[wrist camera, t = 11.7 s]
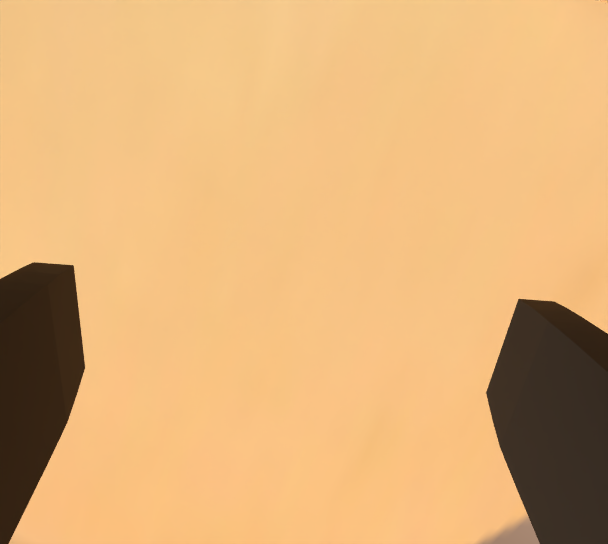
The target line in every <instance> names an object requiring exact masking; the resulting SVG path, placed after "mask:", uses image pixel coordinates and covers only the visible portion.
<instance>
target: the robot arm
mask: <svg viewBox="0 0 608 544" xmlns="http://www.w3.org/2000/svg"><path fill="white" fill-rule="evenodd" d="M84 369H85V363H84V354H83V345H82V336H81V327H80V318H79V309H78V300H77V292H76V283H75V274H74V265H61V264H47V263H31V264H29V265H27V266H25V267H23V268H21V269H19V270H17V271H15V272H13V273H11V274H9V275H7V276H5V277H3V278H1V279H0V544H9V541H10V539H11V537H12V535H13V533H14V531H15V529H16V527H17V525H18V523H19V521H20V519H21V517H22V515H23V513H24V511H25V509H26V507H27V505H28V503H29V501H30V499H31V497H32V495H33V492H34V490H35V488H36V486H37V484H38V482H39V480H40V478H41V476H42V474H43V472H44V470H45V468H46V466H47V464H48V462H49V460H50V458H51V456H52V453H53V451H54V449H55V447H56V445H57V443H58V441H59V439H60V437H61V435H62V432H63V430H64V428H65V426H66V424H67V421H68V419H69V416H70V413H71V410H72V407H73V404H74V401H75V398H76V395H77V392H78V389H79V385H80V382H81V379H82V376H83V373H84ZM486 394H487V398H488V402H489V406H490V411H491V415H492V419H493V423H494V427H495V430H496V434H497V437H498V441H499V445H500V448H501V450H502V453H503V455H504V458H505V461H506V463H507V466H508V468H509V470H510V473H511V475H512V478H513V480H514V483H515V485H516V488H517V490H518V492H519V495H520V497H521V500H522V502H523V504H524V507H525V509H526V511H527V514H528V516H529V519H530V521H531V523H532V526H533V528H534V530H535V533H536V535H537V538H538V540H539V542H540V544H608V334H607V333H605V332H604V331H602V330H601V329H599V328H598V327H596V326H595V325H593V324H592V323H590V322H588V321H587V320H585V319H584V318H582V317H581V316H579V315H577V314H576V313H574V312H572V311H571V310H569V309H567V308H565V307H564V306H562V305H560V304H558V303H556V302H552V301H539V300H526V299H518V302H517V305H516V308H515V311H514V314H513V317H512V320H511V323H510V325H509V328H508V331H507V334H506V337H505V340H504V343H503V346H502V349H501V352H500V354H499V357H498V360H497V363H496V366H495V369H494V372H493V375H492V378H491V381H490V383H489V386H488V389H487V392H486Z"/></svg>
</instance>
